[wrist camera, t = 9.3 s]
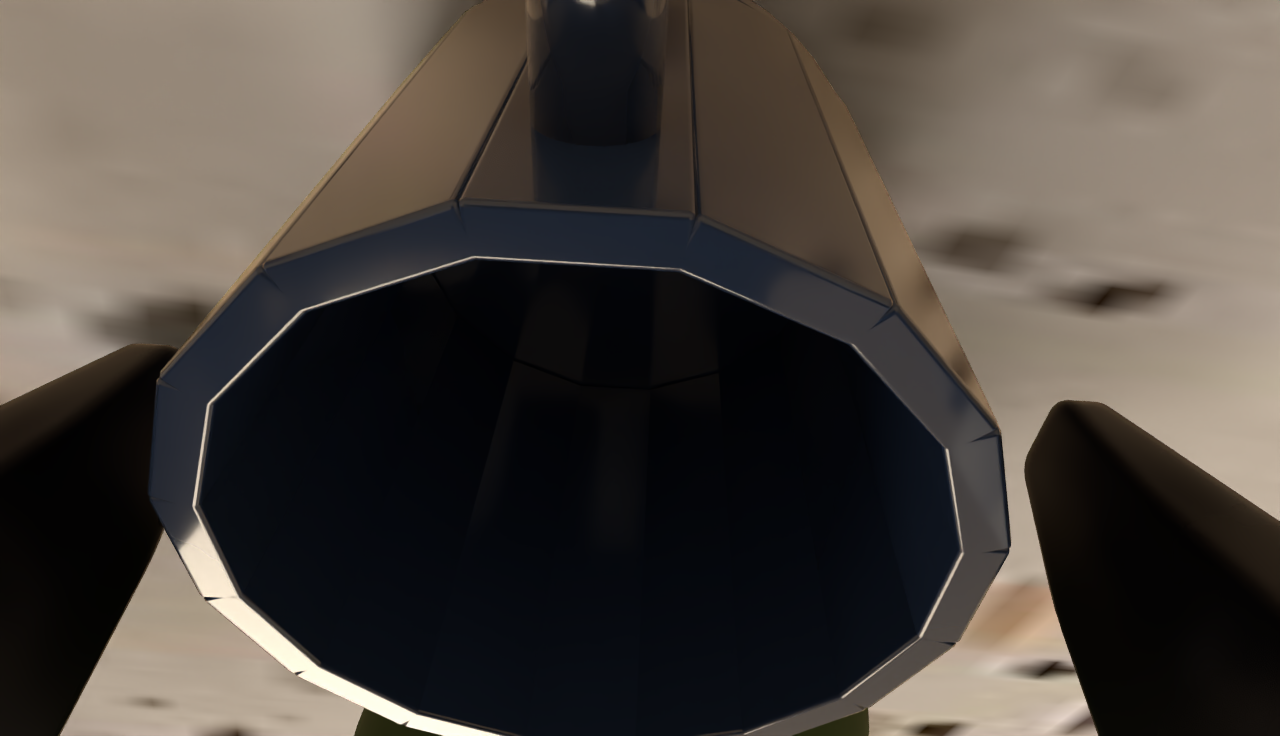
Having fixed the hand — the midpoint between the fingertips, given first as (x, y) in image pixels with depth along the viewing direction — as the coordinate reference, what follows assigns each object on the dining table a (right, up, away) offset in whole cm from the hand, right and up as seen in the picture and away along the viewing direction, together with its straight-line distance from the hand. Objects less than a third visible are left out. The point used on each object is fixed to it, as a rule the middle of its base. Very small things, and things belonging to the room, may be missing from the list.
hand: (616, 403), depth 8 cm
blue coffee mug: (0, +4, +3) cm, 5 cm away
